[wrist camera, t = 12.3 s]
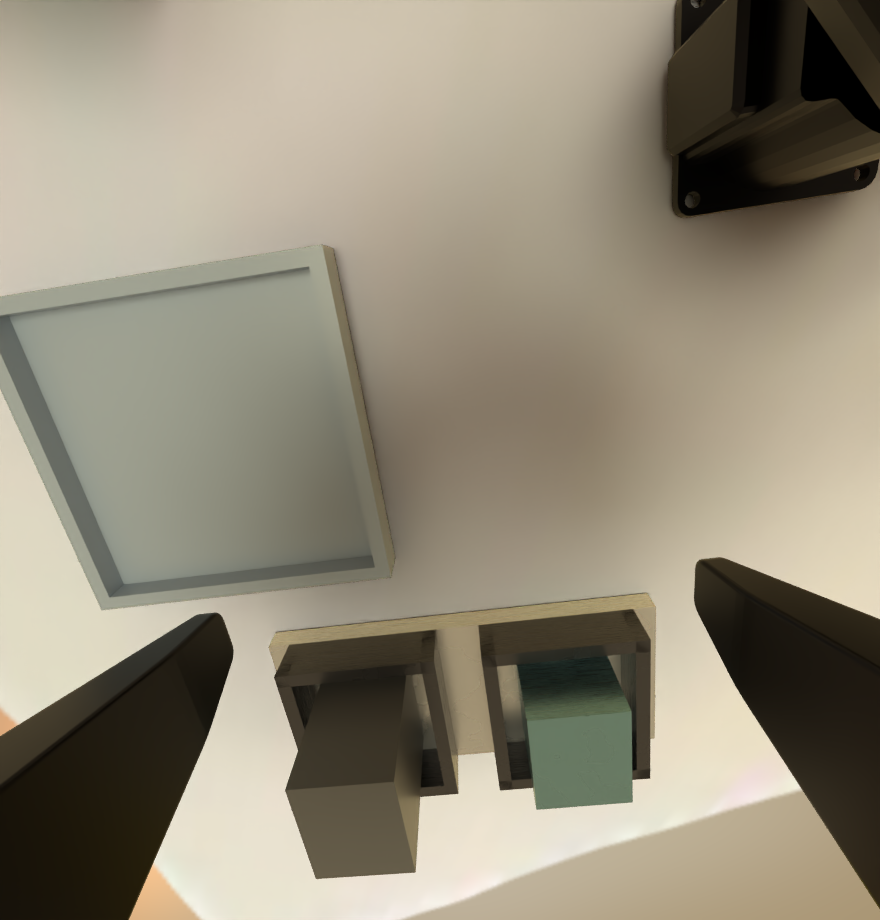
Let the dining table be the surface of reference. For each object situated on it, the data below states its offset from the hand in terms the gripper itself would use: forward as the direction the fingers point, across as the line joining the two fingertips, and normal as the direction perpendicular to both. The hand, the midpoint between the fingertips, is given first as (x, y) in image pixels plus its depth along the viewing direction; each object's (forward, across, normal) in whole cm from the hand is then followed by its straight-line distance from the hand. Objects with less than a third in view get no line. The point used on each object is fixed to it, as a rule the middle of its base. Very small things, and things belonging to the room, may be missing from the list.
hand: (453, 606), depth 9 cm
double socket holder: (+12, +1, +13) cm, 17 cm away
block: (+10, +6, +13) cm, 18 cm away
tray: (+12, +10, -1) cm, 15 cm away
